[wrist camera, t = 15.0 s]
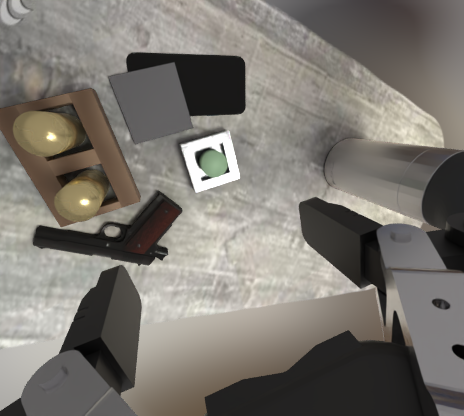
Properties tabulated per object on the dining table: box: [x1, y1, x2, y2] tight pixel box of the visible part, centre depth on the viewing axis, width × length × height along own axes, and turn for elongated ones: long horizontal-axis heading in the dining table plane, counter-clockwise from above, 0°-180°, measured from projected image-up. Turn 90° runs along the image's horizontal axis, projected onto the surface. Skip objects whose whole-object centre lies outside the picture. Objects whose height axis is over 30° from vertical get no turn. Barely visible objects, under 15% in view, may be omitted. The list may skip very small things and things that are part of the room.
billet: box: [13, 111, 86, 157], centre depth 26 cm, size 4×4×8 cm
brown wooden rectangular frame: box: [0, 88, 141, 227], centre depth 29 cm, size 10×14×2 cm
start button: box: [199, 149, 228, 178], centre depth 33 cm, size 4×4×2 cm
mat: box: [109, 62, 193, 144], centre depth 31 cm, size 8×8×1 cm
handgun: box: [33, 190, 182, 266], centre depth 34 cm, size 2×17×12 cm
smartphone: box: [127, 53, 245, 116], centre depth 32 cm, size 7×1×15 cm
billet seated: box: [54, 170, 110, 222], centre depth 28 cm, size 4×4×8 cm
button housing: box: [179, 130, 240, 193], centre depth 35 cm, size 7×7×2 cm
